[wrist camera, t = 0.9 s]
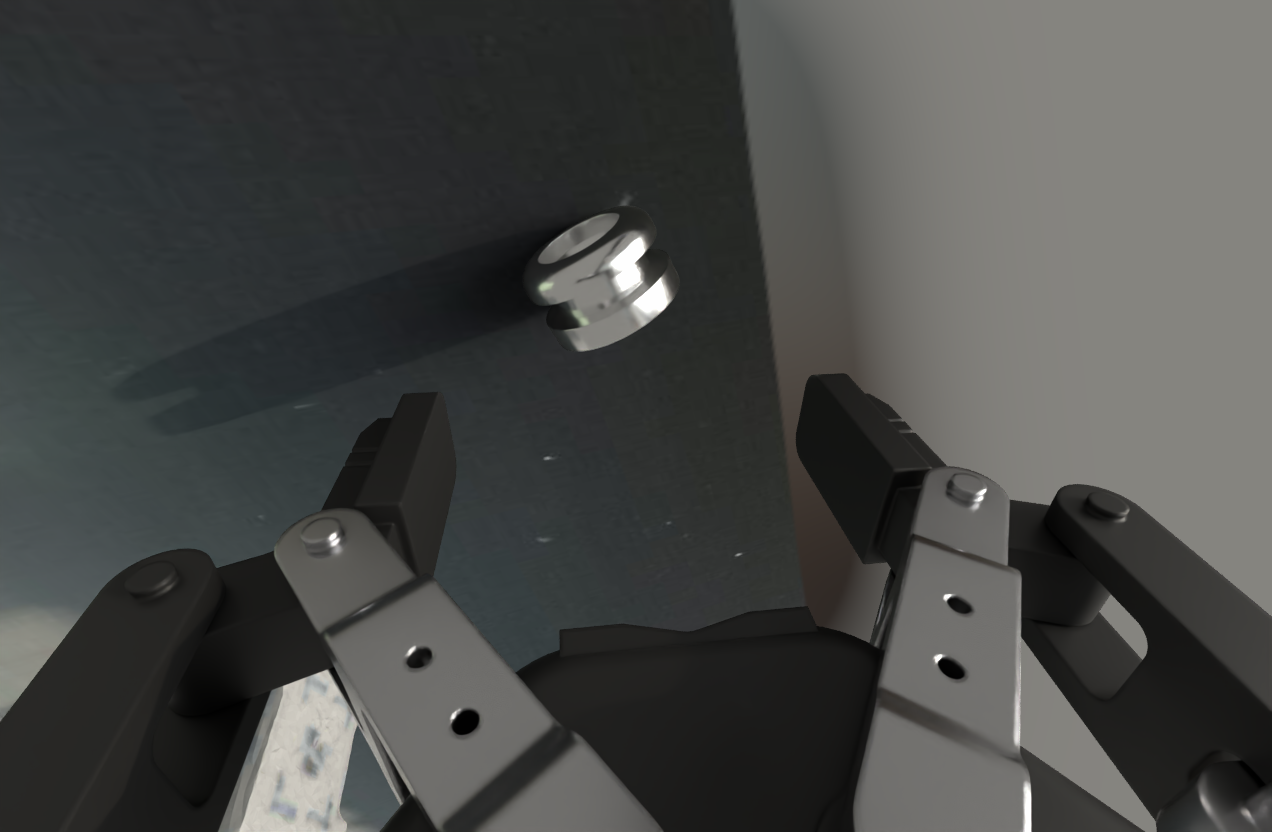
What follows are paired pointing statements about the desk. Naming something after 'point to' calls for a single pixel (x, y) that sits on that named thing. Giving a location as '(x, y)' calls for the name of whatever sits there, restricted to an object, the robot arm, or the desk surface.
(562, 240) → the metal grooved wheel
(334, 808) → the incense holder
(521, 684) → the robot arm
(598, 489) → the desk surface
